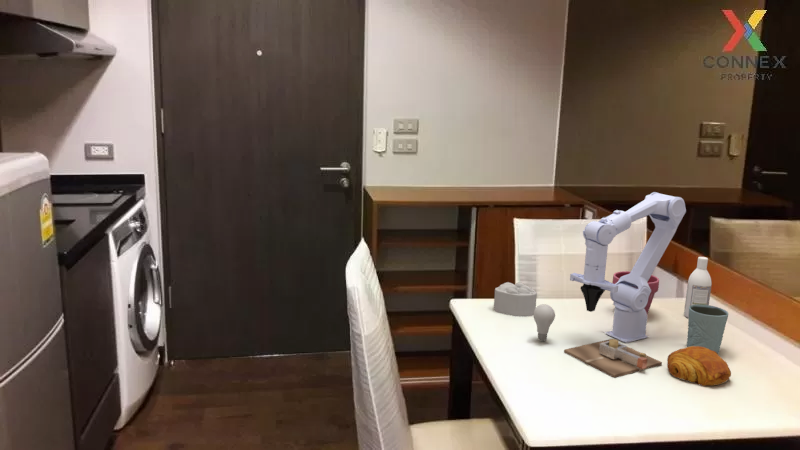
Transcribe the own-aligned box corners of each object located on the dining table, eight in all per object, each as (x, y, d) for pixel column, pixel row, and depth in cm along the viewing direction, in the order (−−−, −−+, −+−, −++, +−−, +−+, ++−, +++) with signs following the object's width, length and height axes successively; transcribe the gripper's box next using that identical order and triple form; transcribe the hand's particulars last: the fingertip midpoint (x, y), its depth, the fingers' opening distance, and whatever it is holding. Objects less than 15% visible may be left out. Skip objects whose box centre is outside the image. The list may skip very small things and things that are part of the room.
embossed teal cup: (678, 349, 190) (683, 309, 187) (691, 340, 197) (696, 301, 195) (715, 360, 183) (721, 318, 181) (727, 350, 190) (733, 310, 188)
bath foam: (711, 320, 215) (719, 260, 210) (692, 321, 213) (700, 260, 209) (697, 313, 221) (705, 254, 217) (679, 314, 220) (686, 255, 215)
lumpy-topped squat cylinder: (502, 302, 225) (504, 278, 223) (539, 310, 219) (541, 285, 217) (490, 311, 216) (492, 285, 215) (529, 319, 210) (531, 293, 208)
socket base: (610, 341, 194) (612, 324, 193) (663, 365, 178) (665, 347, 177) (562, 352, 185) (564, 334, 184) (614, 379, 169) (616, 359, 168)
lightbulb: (553, 346, 189) (556, 309, 187) (531, 343, 190) (533, 307, 188) (552, 338, 195) (555, 302, 193) (531, 336, 196) (534, 300, 194)
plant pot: (617, 304, 228) (621, 267, 225) (660, 313, 220) (664, 276, 217) (603, 315, 216) (607, 277, 214) (647, 325, 208) (652, 286, 206)
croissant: (655, 375, 177) (655, 347, 175) (700, 360, 183) (700, 333, 181) (698, 398, 164) (698, 368, 162) (745, 381, 170) (745, 352, 168)
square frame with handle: (598, 353, 182) (599, 343, 182) (611, 349, 185) (612, 339, 184) (638, 370, 172) (639, 360, 171) (650, 366, 175) (651, 356, 174)
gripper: (565, 260, 190) (561, 306, 193) (609, 272, 179) (604, 320, 182) (580, 257, 194) (575, 301, 197) (624, 268, 184) (619, 315, 186)
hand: (590, 310), depth 190 cm, fingers closed
